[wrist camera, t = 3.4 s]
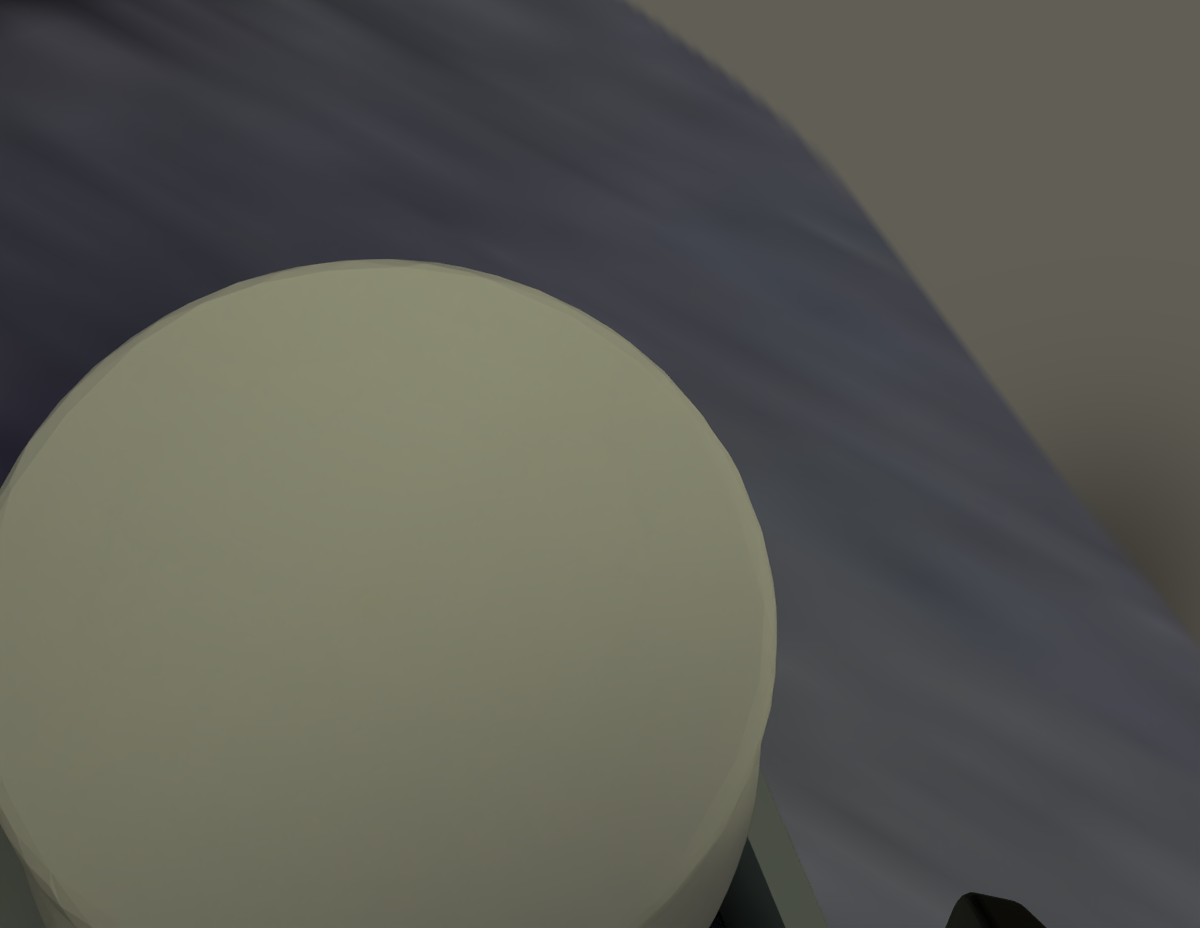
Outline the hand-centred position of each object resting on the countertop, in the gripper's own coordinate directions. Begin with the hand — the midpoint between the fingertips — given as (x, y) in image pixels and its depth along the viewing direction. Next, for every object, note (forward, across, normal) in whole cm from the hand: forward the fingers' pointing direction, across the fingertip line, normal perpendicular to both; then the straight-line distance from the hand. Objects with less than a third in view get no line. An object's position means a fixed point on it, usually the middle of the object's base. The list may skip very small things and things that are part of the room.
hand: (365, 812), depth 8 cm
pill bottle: (+7, 0, +6) cm, 9 cm away
